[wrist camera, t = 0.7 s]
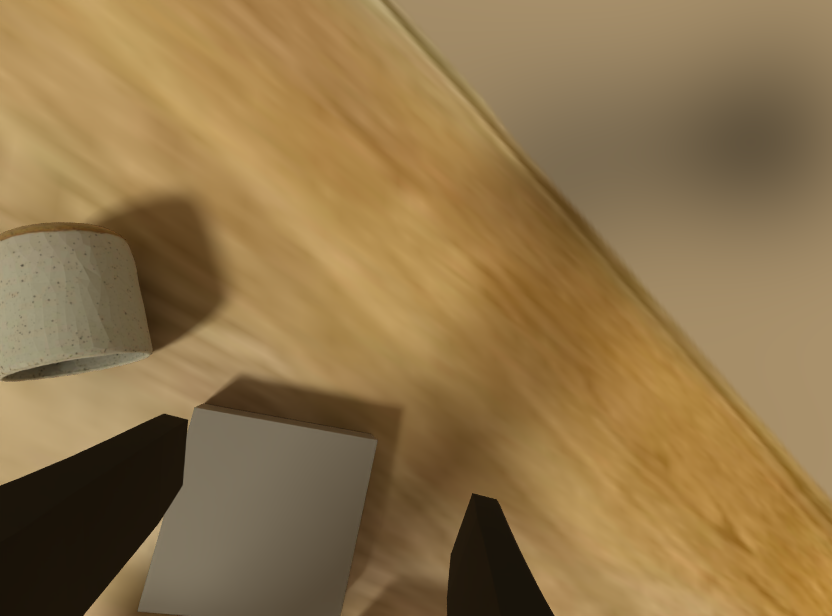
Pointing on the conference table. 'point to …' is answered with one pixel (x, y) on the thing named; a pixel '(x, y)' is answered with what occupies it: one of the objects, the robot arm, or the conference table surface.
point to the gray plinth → (260, 518)
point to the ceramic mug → (68, 302)
